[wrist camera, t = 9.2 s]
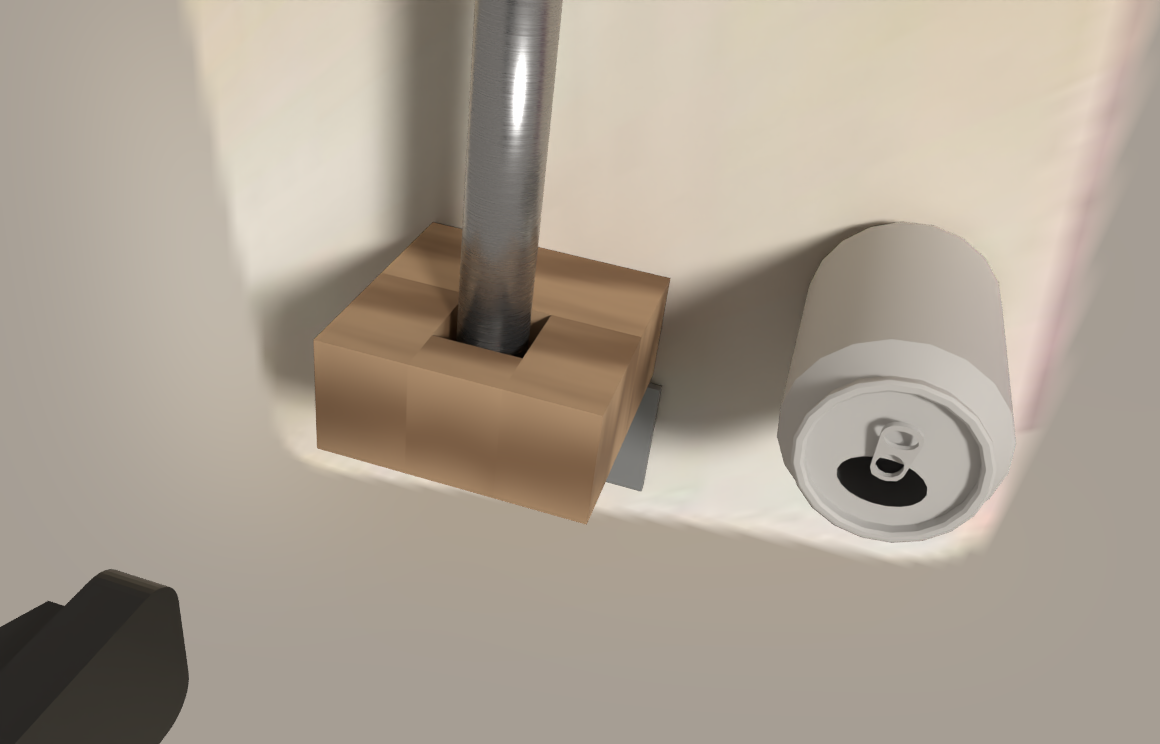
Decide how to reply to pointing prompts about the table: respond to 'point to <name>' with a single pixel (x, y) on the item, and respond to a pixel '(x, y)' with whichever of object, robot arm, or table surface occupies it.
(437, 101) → the table surface
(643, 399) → the mat
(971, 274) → the can
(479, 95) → the shaft
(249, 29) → the table surface
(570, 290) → the bearing block
